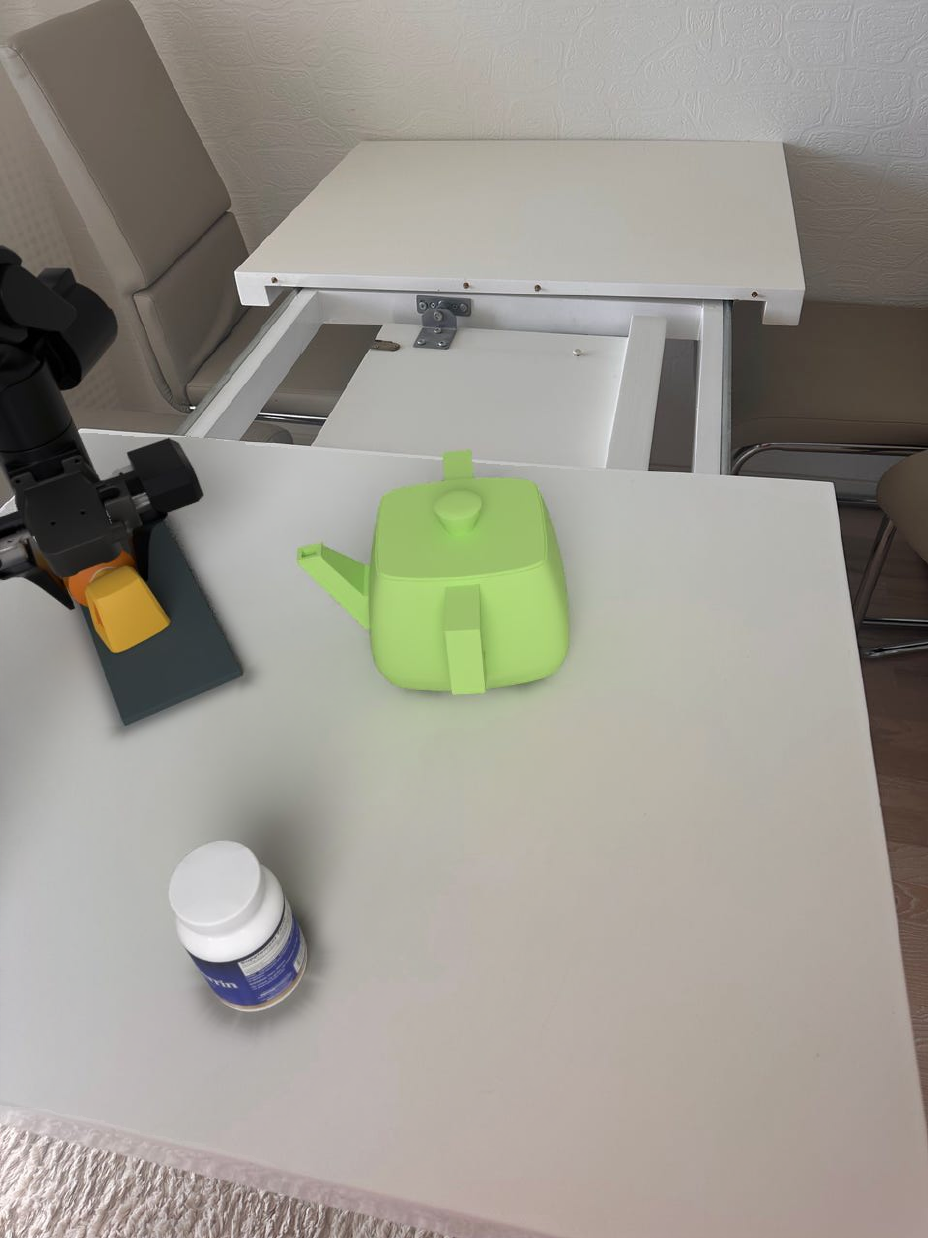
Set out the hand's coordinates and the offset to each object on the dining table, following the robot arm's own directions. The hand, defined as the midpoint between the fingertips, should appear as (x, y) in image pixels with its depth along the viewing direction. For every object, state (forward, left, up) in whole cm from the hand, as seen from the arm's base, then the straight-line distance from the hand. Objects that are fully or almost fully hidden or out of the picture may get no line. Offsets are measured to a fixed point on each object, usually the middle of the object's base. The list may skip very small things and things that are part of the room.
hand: (108, 592), depth 76 cm
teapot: (+21, -18, -2) cm, 28 cm away
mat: (+2, -2, -2) cm, 3 cm away
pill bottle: (0, -35, -2) cm, 35 cm away
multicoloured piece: (0, 0, -1) cm, 1 cm away
